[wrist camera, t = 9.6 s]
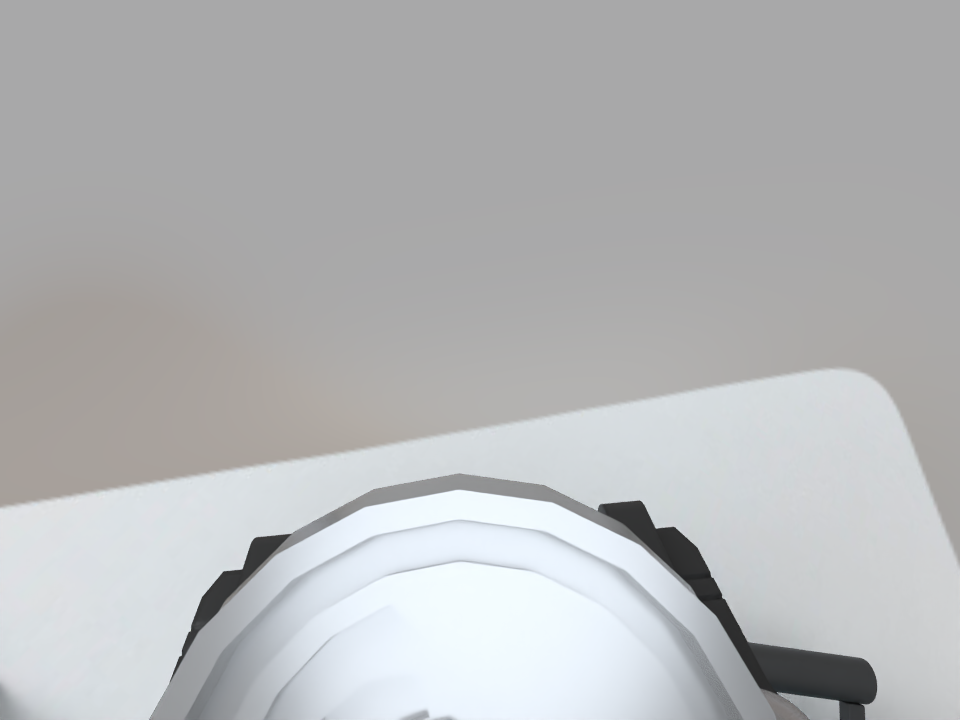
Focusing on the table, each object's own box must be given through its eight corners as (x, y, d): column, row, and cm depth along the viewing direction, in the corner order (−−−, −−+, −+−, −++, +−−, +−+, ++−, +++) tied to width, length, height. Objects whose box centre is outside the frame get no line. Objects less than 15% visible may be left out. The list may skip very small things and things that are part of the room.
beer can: (604, 593, 16) (963, 731, 5) (490, 788, 15) (588, 1675, 3) (439, 475, 17) (388, 339, 5) (315, 651, 15) (-110, 980, 4)
